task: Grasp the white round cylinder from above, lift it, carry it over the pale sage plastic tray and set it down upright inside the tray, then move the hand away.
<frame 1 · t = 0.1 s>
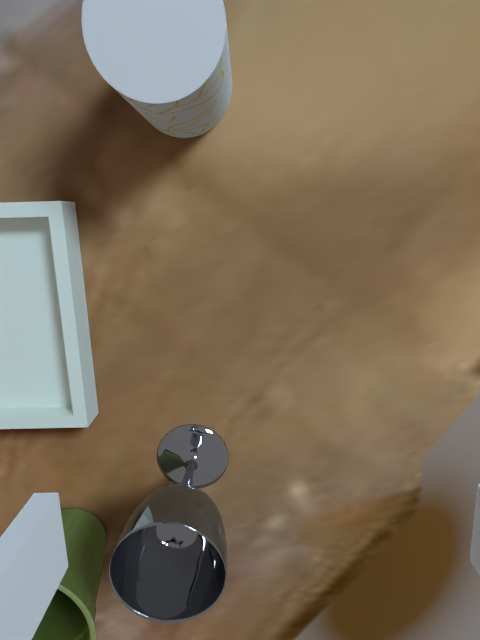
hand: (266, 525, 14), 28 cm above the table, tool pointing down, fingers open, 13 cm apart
white round cylinder: (183, 86, 37), on the table
plant pot: (75, 534, 47), on the table
wine glass: (193, 456, 45), on the table
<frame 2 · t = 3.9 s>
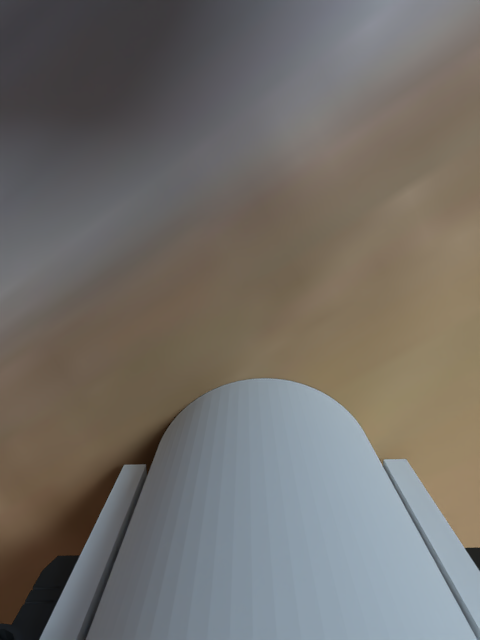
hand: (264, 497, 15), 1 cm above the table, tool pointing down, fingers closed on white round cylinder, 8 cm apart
white round cylinder: (263, 480, 16), on the table, touching gripper
when the fingers open (3 cm above the table, at t = 10.0 s): white round cylinder drops 1 cm, resting on tray.
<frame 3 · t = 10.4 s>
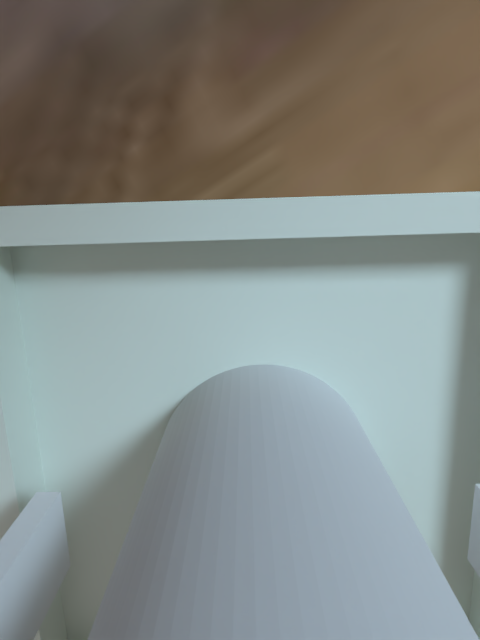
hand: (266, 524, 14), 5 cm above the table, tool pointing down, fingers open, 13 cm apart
tray: (261, 448, 19), on the table
white round cylinder: (262, 459, 18), point 1 cm above the table, touching tray
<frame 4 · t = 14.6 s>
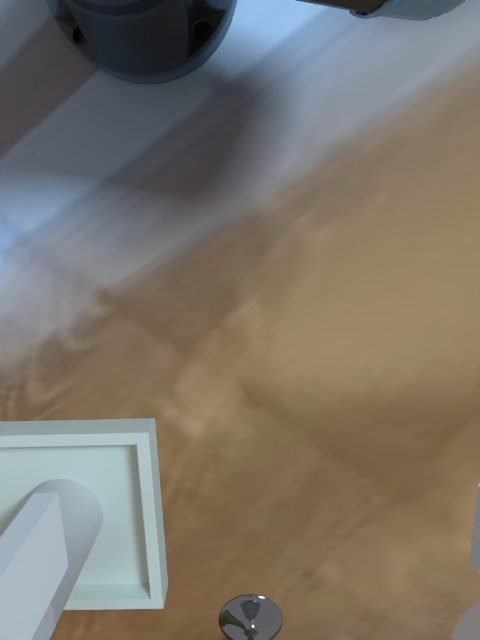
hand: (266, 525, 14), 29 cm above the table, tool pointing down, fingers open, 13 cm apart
tray: (67, 507, 47), on the table
white round cylinder: (64, 512, 46), point 1 cm above the table, touching tray
wine glass: (250, 619, 50), on the table
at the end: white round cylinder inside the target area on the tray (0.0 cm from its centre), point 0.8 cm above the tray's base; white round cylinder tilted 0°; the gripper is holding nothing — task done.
